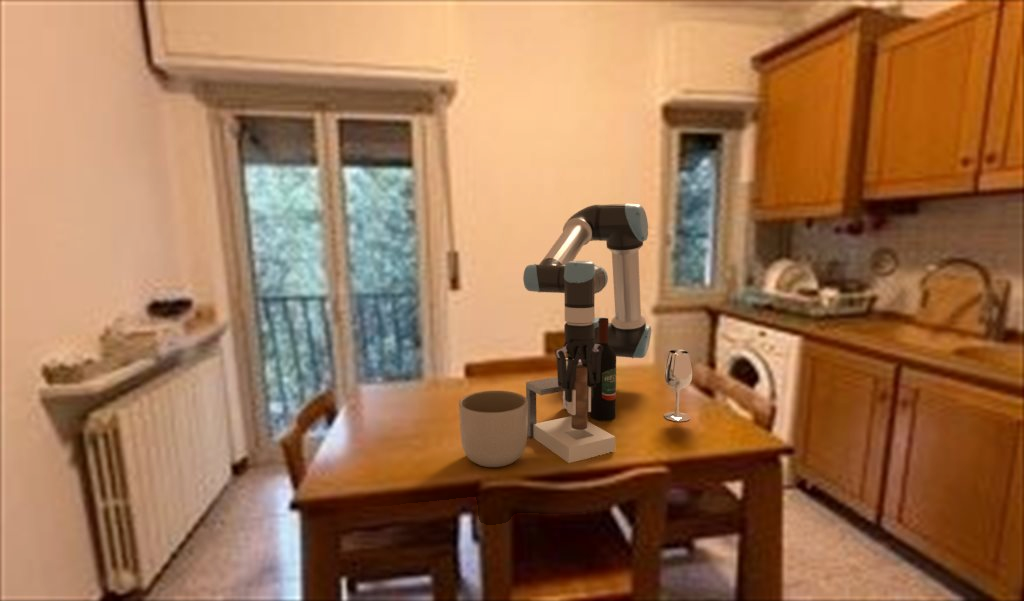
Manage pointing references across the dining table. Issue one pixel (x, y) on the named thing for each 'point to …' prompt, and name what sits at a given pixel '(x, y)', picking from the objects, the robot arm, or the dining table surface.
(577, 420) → the peg
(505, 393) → the planter
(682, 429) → the dining table surface
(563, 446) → the socket deck
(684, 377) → the wineglass
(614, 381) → the wine bottle
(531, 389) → the gray arch stand
